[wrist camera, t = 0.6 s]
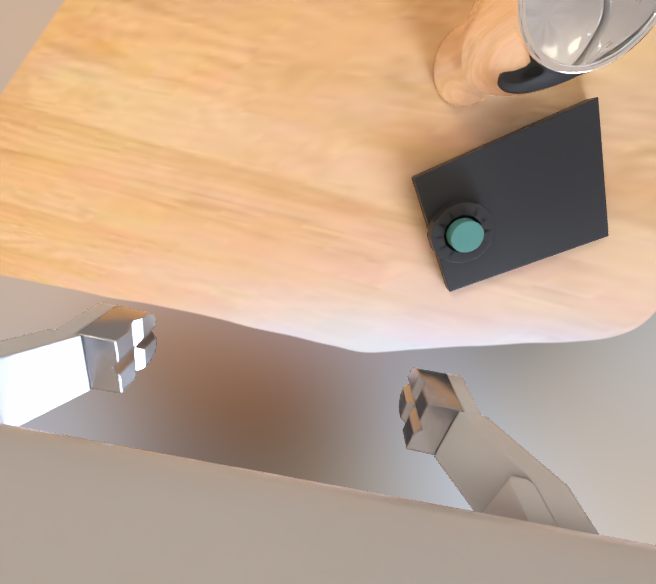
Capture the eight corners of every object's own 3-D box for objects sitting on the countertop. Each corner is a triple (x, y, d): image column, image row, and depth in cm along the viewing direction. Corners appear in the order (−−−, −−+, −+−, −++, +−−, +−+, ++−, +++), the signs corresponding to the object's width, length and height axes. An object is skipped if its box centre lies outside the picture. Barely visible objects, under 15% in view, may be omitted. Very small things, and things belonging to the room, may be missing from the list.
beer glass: (529, 46, 26) (736, -68, 12) (473, 128, 28) (592, 109, 15) (463, -6, 25) (611, -197, 11) (411, 85, 27) (479, 22, 14)
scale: (586, 99, 27) (613, 93, 24) (598, 232, 32) (622, 240, 29) (406, 178, 31) (412, 181, 28) (441, 288, 35) (450, 300, 33)
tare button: (473, 212, 29) (480, 215, 28) (480, 240, 30) (487, 245, 29) (442, 225, 30) (447, 228, 28) (450, 252, 31) (455, 257, 29)
